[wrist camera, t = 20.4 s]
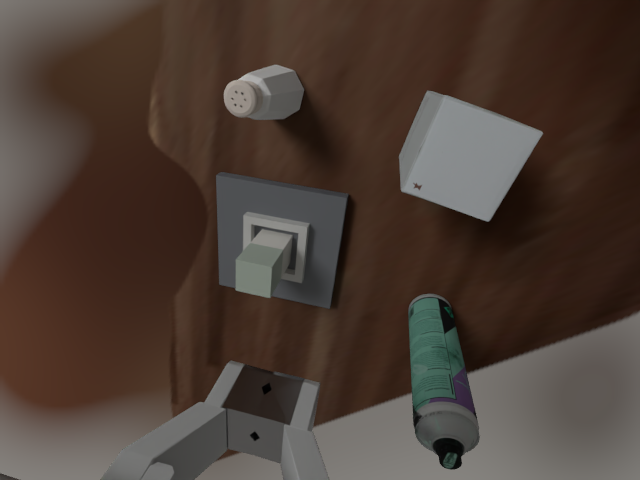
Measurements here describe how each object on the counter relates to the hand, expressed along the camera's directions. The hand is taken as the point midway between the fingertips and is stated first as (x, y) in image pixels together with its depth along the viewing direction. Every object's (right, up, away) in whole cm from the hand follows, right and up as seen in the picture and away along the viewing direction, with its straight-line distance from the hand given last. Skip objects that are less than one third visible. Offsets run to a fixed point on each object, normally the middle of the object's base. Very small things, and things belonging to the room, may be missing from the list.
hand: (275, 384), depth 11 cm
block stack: (-4, +4, +33) cm, 33 cm away
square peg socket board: (-4, +5, +34) cm, 34 cm away
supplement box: (+15, +16, +25) cm, 33 cm away
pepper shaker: (-3, +21, +26) cm, 33 cm away
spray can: (+16, -5, +34) cm, 38 cm away
